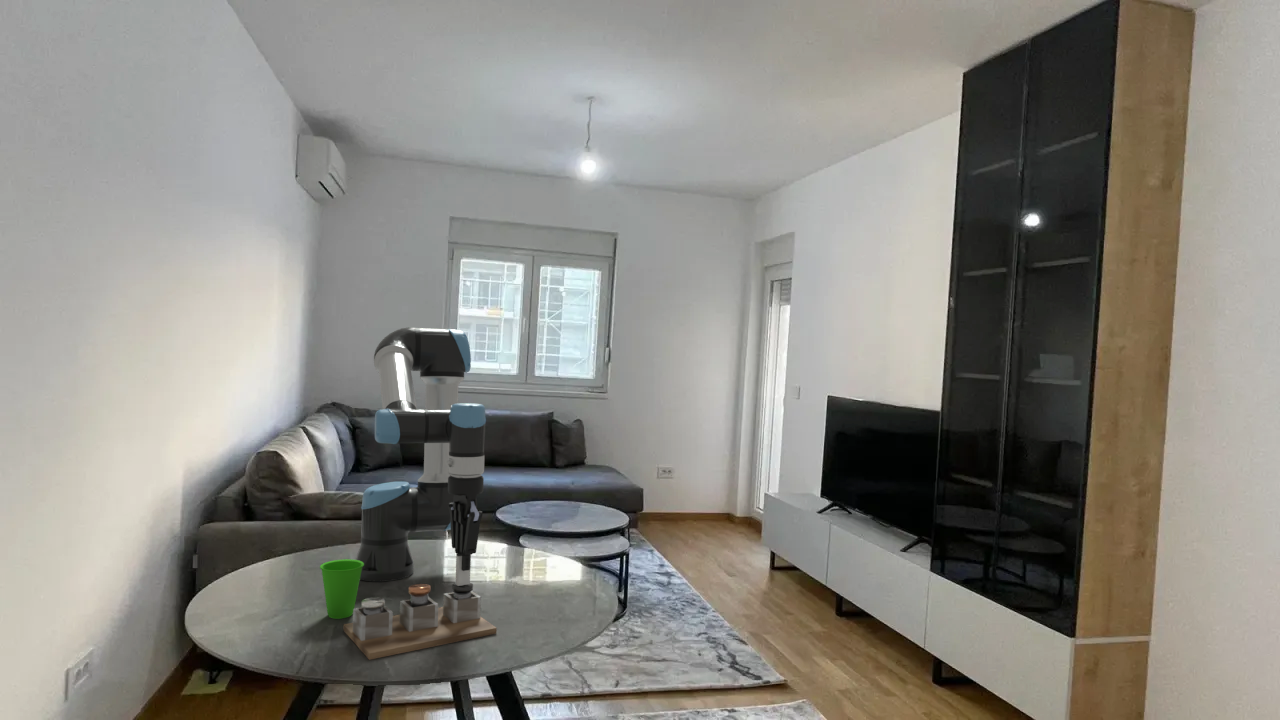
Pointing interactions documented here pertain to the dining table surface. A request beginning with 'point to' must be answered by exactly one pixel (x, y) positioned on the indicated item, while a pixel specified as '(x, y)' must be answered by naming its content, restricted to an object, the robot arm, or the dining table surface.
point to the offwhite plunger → (372, 605)
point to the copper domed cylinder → (419, 594)
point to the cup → (341, 586)
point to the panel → (418, 626)
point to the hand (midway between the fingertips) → (462, 584)
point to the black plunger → (462, 591)
